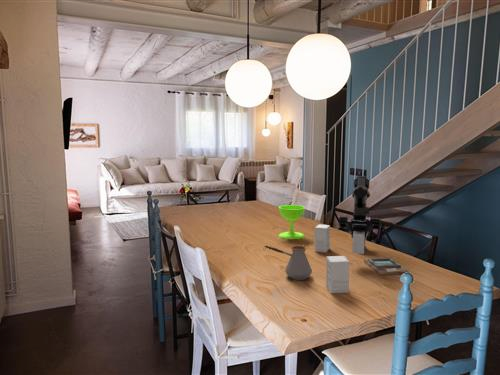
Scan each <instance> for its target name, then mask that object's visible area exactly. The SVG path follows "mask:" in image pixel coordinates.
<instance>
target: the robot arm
mask: <svg viewBox="0 0 500 375" xmlns="http://www.w3.org/2000/svg"><path fill="white" fill-rule="evenodd" d="M369 189H370V179H368V178H367V176H365V175H364V176H363V175H362V176H361V175H359V176H356V178H354V180H353V190H352V195H351V196H352V199H353V202H354V203H353V214H352V218H349V217H348V216H339V218H338V225H339V226H338V227H339V228H345V229H346V230H348V231H349V233H350V236H351V239H353V231H357V232H365V236H364V251H366V249H367V246H366V239H369V238H370V232H371V231H373V230H380V229H381V219H380V218H377V217H371V220H367V215H370V206H367V201H368V199H369V198H370V196H371V193H370V192H369Z"/></svg>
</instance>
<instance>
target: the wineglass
mask: <svg viewBox="0 0 500 375" xmlns="http://www.w3.org/2000/svg"><path fill="white" fill-rule="evenodd" d="M305 209H306V207H305V206H303V205H297V204H285V205H279V206H278V212H279V215H280V216H281V217H282V218H283V219H284V220H287V221H290V222H289V231H285V232H284V231H283V232H280V233H279V234H278V238H280V237H281V238H280V239H282V238H285V239H284V240H288V239H297V240H302V239H304V238H305V234H304V233H302V232H297V231H294V221H298V220H299V219H300V218H301V217H302V216H303V215H304V214H305V211H306V210H305ZM301 238H302V239H301Z"/></svg>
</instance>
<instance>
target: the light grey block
mask: <svg viewBox="0 0 500 375" xmlns="http://www.w3.org/2000/svg"><path fill="white" fill-rule="evenodd" d="M364 236H365V232H357V231H353V238H352V254H361V255H363V254H365V250H364Z"/></svg>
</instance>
